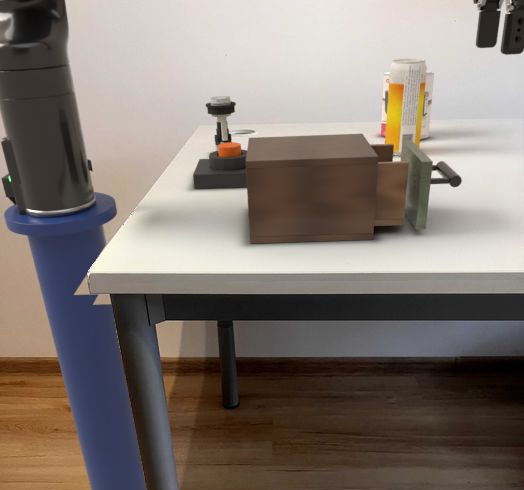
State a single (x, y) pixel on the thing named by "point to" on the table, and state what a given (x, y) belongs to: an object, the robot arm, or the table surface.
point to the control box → (221, 171)
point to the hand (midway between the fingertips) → (497, 50)
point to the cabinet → (311, 188)
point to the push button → (221, 117)
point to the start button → (229, 149)
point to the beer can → (405, 102)
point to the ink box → (425, 105)
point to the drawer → (406, 184)
